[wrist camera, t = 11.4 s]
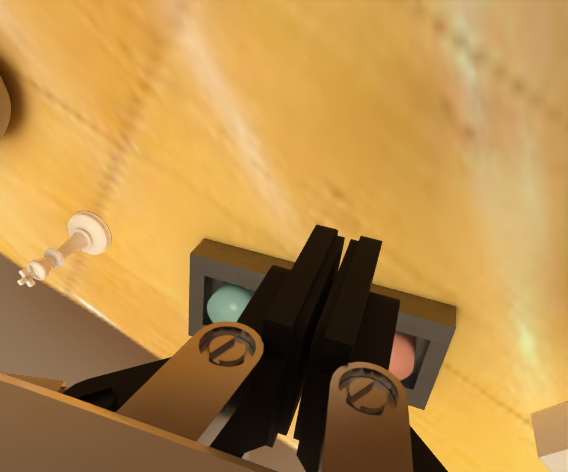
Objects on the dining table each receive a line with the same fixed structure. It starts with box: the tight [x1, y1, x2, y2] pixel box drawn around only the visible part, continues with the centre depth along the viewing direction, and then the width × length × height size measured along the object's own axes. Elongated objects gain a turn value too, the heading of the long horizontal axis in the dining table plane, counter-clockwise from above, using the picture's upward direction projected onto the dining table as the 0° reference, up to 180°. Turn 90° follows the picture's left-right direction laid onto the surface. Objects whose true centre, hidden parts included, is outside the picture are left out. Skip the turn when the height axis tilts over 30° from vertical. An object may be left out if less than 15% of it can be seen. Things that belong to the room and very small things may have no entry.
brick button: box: [389, 331, 416, 380], centre depth 44 cm, size 5×5×3 cm
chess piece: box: [17, 211, 111, 287], centre depth 47 cm, size 5×5×10 cm
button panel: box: [189, 239, 456, 410], centre depth 46 cm, size 24×10×3 cm, turn 83°
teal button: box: [207, 281, 256, 323], centre depth 47 cm, size 5×5×3 cm
